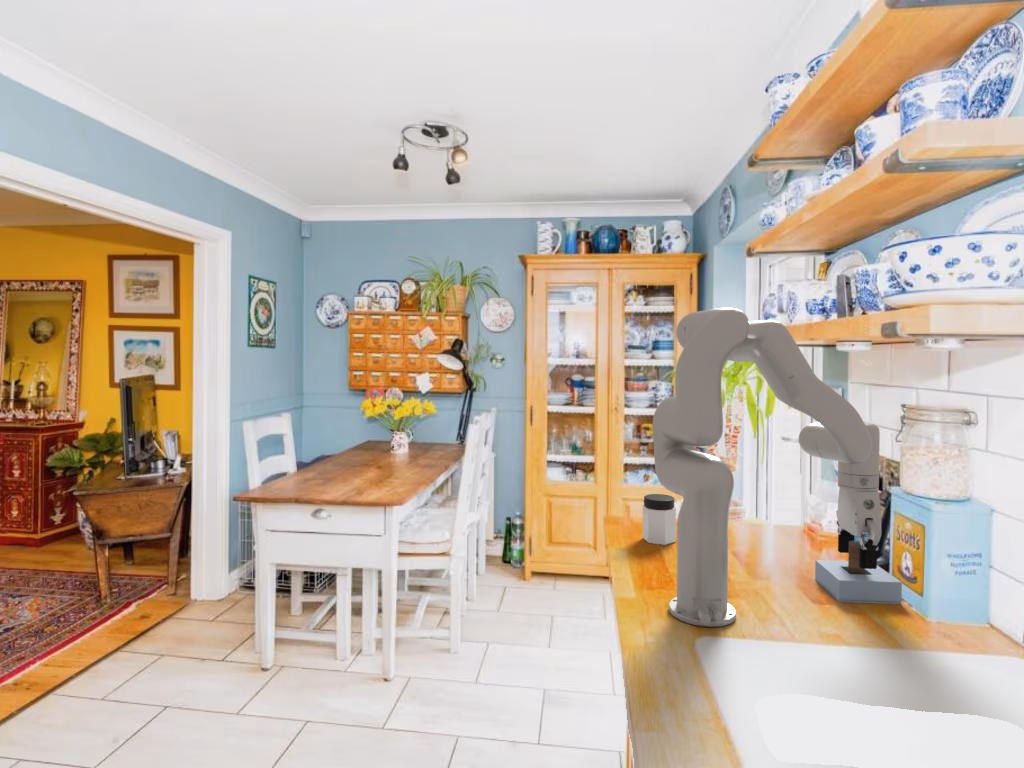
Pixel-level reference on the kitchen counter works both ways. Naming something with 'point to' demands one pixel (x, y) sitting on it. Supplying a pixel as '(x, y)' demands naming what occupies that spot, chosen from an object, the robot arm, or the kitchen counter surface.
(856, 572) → the peg
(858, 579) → the hole block
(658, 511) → the jar
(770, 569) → the kitchen counter surface
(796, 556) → the kitchen counter surface
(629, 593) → the kitchen counter surface
